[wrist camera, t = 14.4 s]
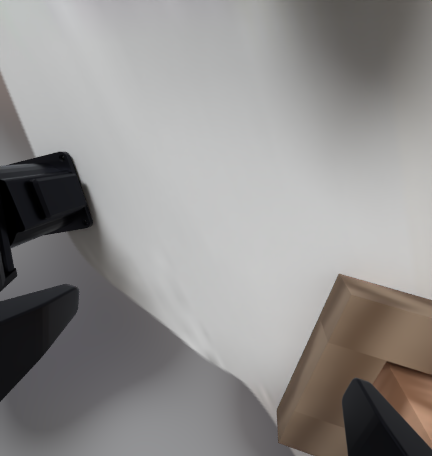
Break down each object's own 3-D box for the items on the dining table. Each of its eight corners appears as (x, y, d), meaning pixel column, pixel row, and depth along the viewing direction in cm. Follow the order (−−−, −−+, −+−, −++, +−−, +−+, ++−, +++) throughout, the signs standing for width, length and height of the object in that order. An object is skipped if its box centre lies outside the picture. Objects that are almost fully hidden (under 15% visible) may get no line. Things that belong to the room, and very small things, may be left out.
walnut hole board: (276, 410, 25) (278, 442, 23) (338, 273, 20) (351, 294, 17) (442, 467, 24) (466, 509, 21) (558, 336, 19) (611, 370, 16)
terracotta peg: (358, 389, 23) (423, 556, 14) (380, 351, 21) (470, 509, 12) (410, 406, 23) (514, 590, 13) (437, 368, 21) (575, 546, 12)
